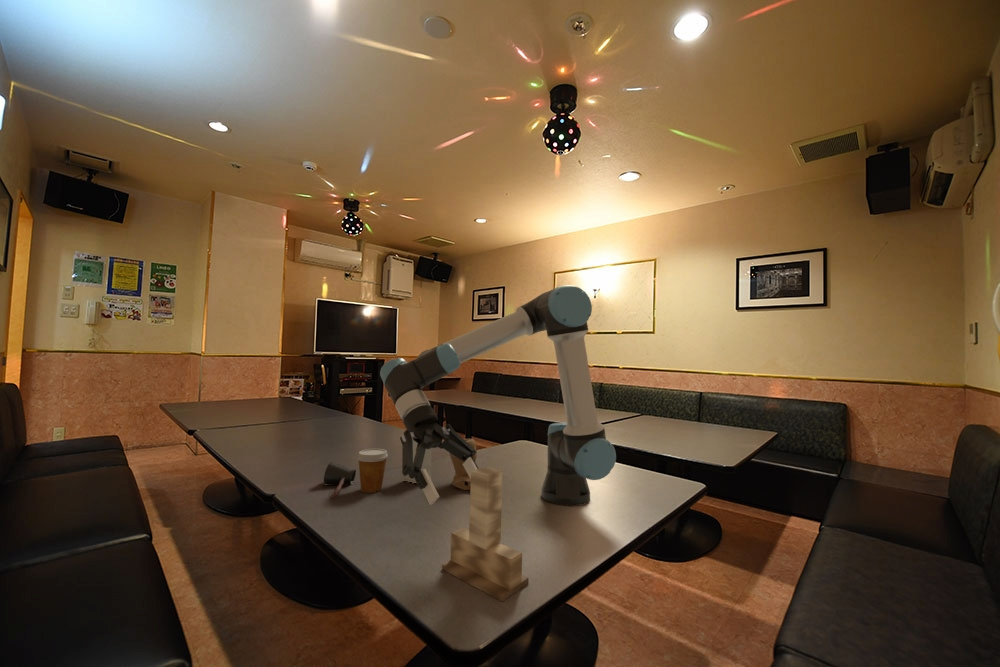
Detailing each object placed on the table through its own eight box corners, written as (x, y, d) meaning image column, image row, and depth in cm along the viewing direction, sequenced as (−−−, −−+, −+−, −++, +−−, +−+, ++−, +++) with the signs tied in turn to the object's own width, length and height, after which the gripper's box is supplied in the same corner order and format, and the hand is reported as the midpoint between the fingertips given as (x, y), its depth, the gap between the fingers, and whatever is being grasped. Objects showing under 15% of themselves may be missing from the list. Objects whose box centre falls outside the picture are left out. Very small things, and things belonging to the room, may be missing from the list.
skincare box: (431, 481, 138) (432, 437, 139) (419, 485, 133) (421, 440, 134) (412, 477, 142) (414, 434, 143) (400, 481, 137) (402, 437, 138)
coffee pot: (330, 478, 137) (355, 482, 137) (307, 505, 119) (335, 509, 119) (333, 457, 136) (358, 461, 137) (310, 481, 118) (339, 485, 119)
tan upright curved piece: (449, 477, 143) (451, 434, 144) (483, 477, 143) (484, 435, 144) (444, 491, 128) (445, 444, 129) (481, 492, 128) (482, 445, 129)
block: (484, 535, 83) (486, 466, 84) (500, 541, 80) (502, 471, 81) (468, 542, 80) (471, 471, 80) (485, 549, 77) (487, 475, 78)
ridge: (442, 569, 82) (443, 536, 82) (469, 554, 88) (470, 524, 88) (502, 601, 71) (502, 564, 72) (528, 582, 77) (529, 548, 78)
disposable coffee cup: (393, 488, 129) (394, 451, 130) (369, 497, 121) (370, 457, 122) (373, 483, 135) (374, 446, 135) (349, 490, 127) (350, 452, 127)
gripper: (447, 418, 107) (487, 488, 96) (363, 429, 88) (402, 519, 77) (462, 399, 104) (505, 470, 93) (378, 407, 84) (421, 497, 74)
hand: (459, 492), depth 85 cm, fingers open, 13 cm apart
